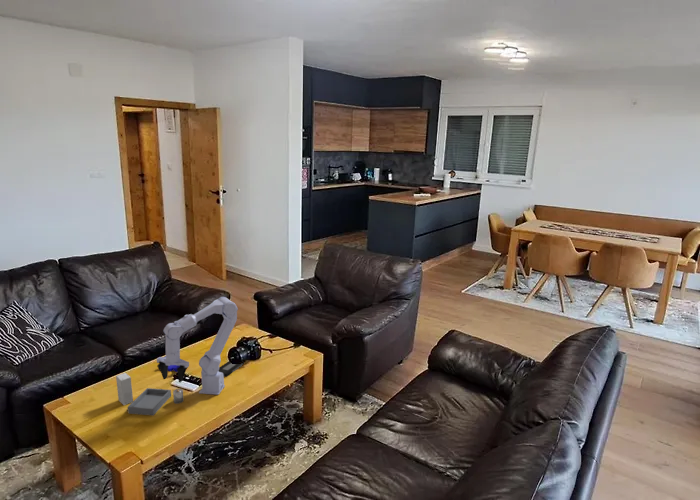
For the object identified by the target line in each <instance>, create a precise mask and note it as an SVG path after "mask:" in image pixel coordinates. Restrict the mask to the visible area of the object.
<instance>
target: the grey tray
mask: <svg viewBox="0 0 700 500" xmlns="http://www.w3.org/2000/svg"><path fill="white" fill-rule="evenodd" d="M171 397H172V390H171V389H163V388H153V387H152V388H151V387H148V388H146V389H144V391H142V392H141V393H140V394H139V396H137V398H135V399H133V402H131V403H129V405H128V406H127V413H128V414H130V415H131V414H132V415H143V416H155V414H156V413H157V412H158V411H159V410H161V408H162V407H163V406H164V404H165V403H166V402H167V401H168V400H169V399H170V398H171Z"/></svg>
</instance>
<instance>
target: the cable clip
mask: <svg viewBox="0 0 700 500" xmlns="http://www.w3.org/2000/svg"><path fill="white" fill-rule="evenodd" d="M164 357H166V355H165V356H164ZM183 360H184V359H183ZM184 361H186V360H184ZM179 367H180V366H177V365H170V366H168V372H172V371H174V372H176V373H178V371H177V368H179Z"/></svg>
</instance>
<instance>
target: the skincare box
mask: <svg viewBox="0 0 700 500" xmlns="http://www.w3.org/2000/svg"><path fill="white" fill-rule="evenodd" d="M115 378H116V387H117V389H116V390H117V399H118V401H119V402H120V403H121V404H122V405H123V406H126V405H128V404H129V405H130V404H131V403H132V402H133V401H134V397H133V388H132V387H133V385H132V377H131V376H130V375H129V374H128V373H126V372H124V373H120V374H117V375H115Z"/></svg>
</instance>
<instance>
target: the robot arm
mask: <svg viewBox="0 0 700 500" xmlns="http://www.w3.org/2000/svg"><path fill="white" fill-rule="evenodd" d="M238 310H239V308H238V306H237V304H236V303H235V302H234V301H231V300H230V299H229V298H227V297H226V296H220V297H219V298H217V299H215V300H213V301H212V302H211V303H210V304H208V305H207V306H205V307H203V308H202V309H201V310H199V311H198V312H195V313H194V314H192V313H190V314H189V313H188V314H185V315H184V316H183V317H181V318H180V319H178V320H175V321H173V322H169V323H167V324H166V325H165V327H164V328H163V333H164V335H165V356H166V357H165V356H164V357H163V356H159V357H157V358H156V363H157V366H156V367H157V368H158V369H159V371H160V373H161V376H162V379H163V380H166V379H168V376H169V375H168V374H169V371H168V366H170V365H177V366H180V367H179V368H177V371H178V372H177V376H178V383H181V382H182V381H184V377H185V374H186V372H187V370H188V368H189V366H190V362H189V361H187V360H185V361H184V359H182V358H181V350H180V349H181V347H180V346H181V344H180V343H181V340H180V339H181V338H180V337H181V336H182V335H183V334H184V333H185V332H187V331H189V330H191V329H193V328H194V327H196V326H197V324H198V322H200V321H201V320H204V319H205V318H207V317H210V316H211V315H213V314H217V315H218V314H219V315H222V317H223V320H222V323H221V325H220V327H219V328H218V329H219V330H218V332H217V333H216V336H215V337H214V339H213V342H212V344H211V346H210V348H209V349H208V350H207V351H205V352H204V355H202V356H201V358H200V359H199V360H198V365H199V367H200V368H201V372H200V373H201V376H200V377H201V389H200V390H199V392H198V394H202V395H203V394H204V395H205V394H206V395H220V393H221V392H222V390H223V389H224V388H225V386H226V385H225V378H224V375H223V373H222V372H219V367H220V365H221V361H222V360H221V354H222V352H223V350H224V348H225V346H226V344H227V342H228V339H229V337H230V335H231V333H232V331H233V329H234V327H235V325H236V322H237V321H238Z"/></svg>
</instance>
